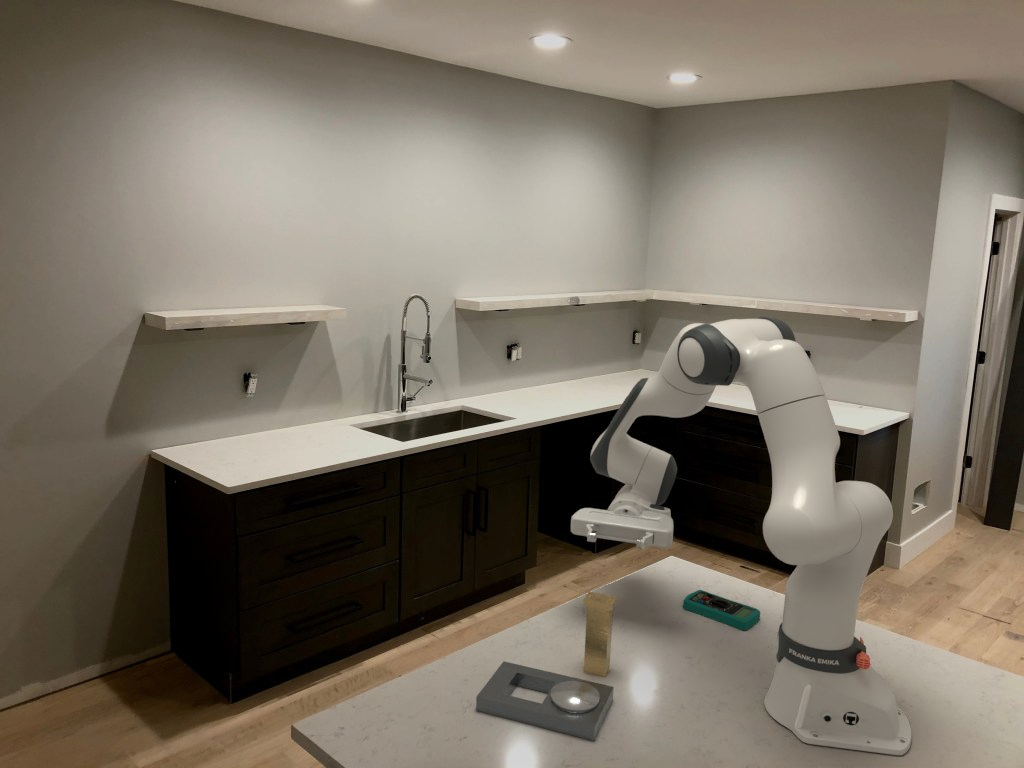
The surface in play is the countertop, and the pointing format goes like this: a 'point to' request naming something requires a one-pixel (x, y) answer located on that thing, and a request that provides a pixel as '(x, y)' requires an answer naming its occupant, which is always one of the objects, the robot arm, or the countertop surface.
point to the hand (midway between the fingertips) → (615, 541)
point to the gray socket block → (547, 700)
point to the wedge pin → (598, 633)
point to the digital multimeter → (721, 609)
